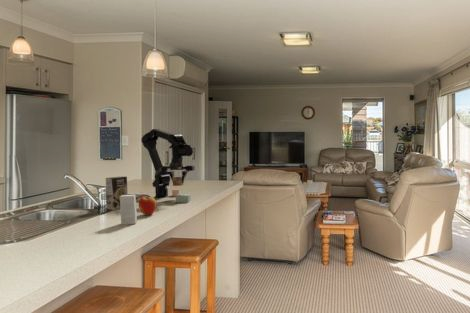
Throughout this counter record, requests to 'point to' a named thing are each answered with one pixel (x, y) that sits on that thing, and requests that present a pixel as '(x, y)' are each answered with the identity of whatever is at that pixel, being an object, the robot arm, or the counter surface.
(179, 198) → the base block
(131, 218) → the skincare box
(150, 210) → the apple
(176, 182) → the walnut cube
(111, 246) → the counter surface
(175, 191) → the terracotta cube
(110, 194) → the coffee box
